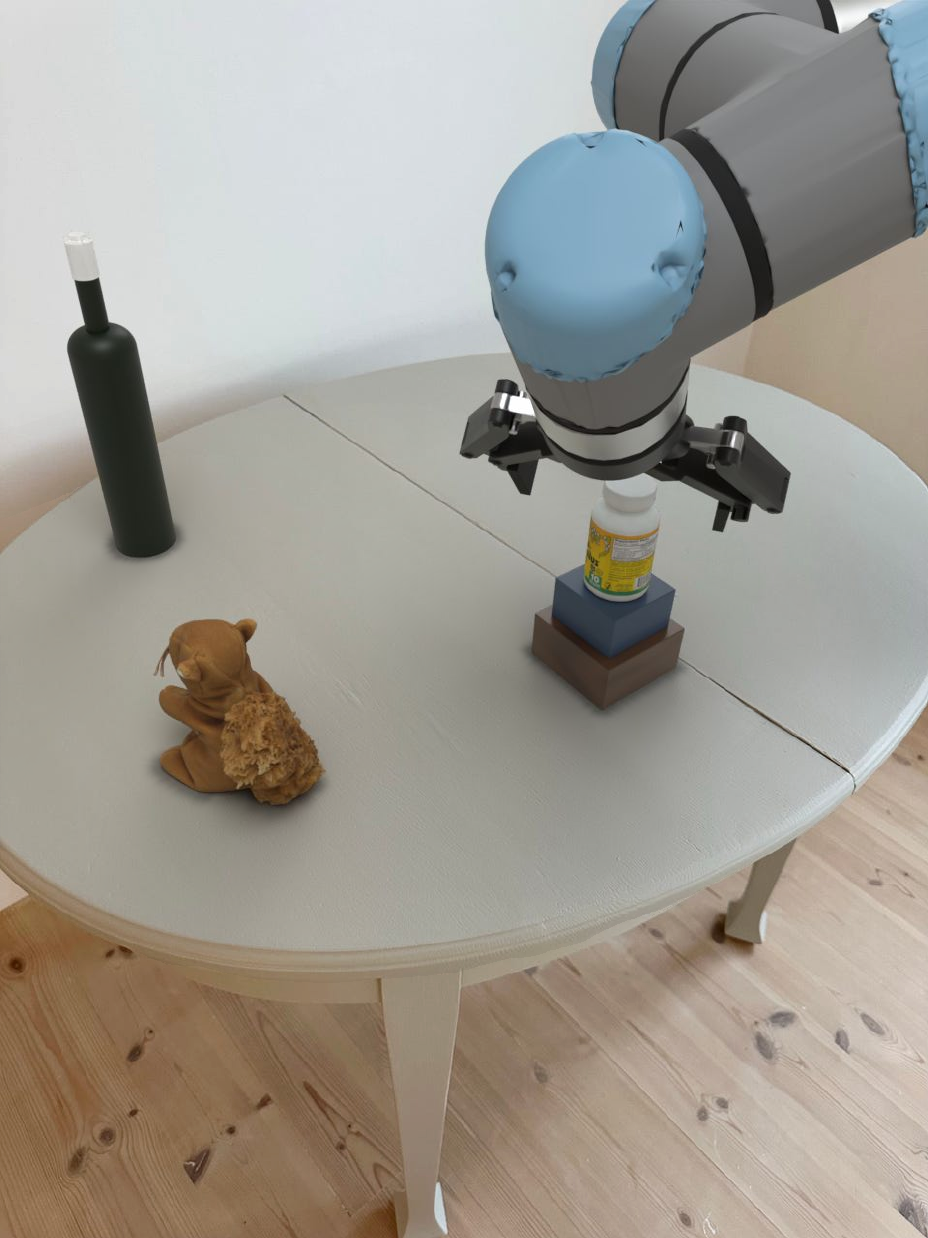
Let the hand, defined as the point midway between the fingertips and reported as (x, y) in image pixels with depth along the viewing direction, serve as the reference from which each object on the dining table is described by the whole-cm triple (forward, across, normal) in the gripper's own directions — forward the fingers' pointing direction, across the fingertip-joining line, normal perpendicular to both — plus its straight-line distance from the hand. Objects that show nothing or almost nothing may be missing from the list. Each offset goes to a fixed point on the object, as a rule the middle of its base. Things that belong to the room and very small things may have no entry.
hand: (623, 494), depth 67 cm
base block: (+18, 0, +11) cm, 21 cm away
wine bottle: (+20, +47, +9) cm, 52 cm away
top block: (+15, 0, +7) cm, 17 cm away
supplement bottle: (+12, 0, +5) cm, 13 cm away
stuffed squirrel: (+3, +23, +26) cm, 35 cm away
